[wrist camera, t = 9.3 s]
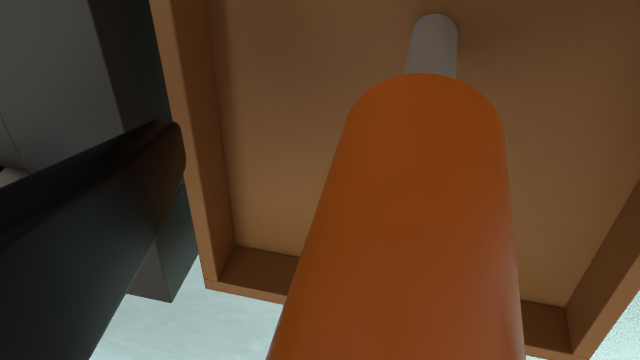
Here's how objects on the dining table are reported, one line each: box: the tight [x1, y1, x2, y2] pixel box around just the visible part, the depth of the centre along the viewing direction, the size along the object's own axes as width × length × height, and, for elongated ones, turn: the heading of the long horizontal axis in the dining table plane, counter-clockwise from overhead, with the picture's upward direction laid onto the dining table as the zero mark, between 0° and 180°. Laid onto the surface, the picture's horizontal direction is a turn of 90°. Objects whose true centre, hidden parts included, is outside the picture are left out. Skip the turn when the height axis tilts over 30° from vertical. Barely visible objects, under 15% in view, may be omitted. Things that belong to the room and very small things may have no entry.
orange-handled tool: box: [266, 13, 526, 360], centre depth 9 cm, size 3×3×11 cm
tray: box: [149, 0, 640, 360], centre depth 13 cm, size 21×14×3 cm
